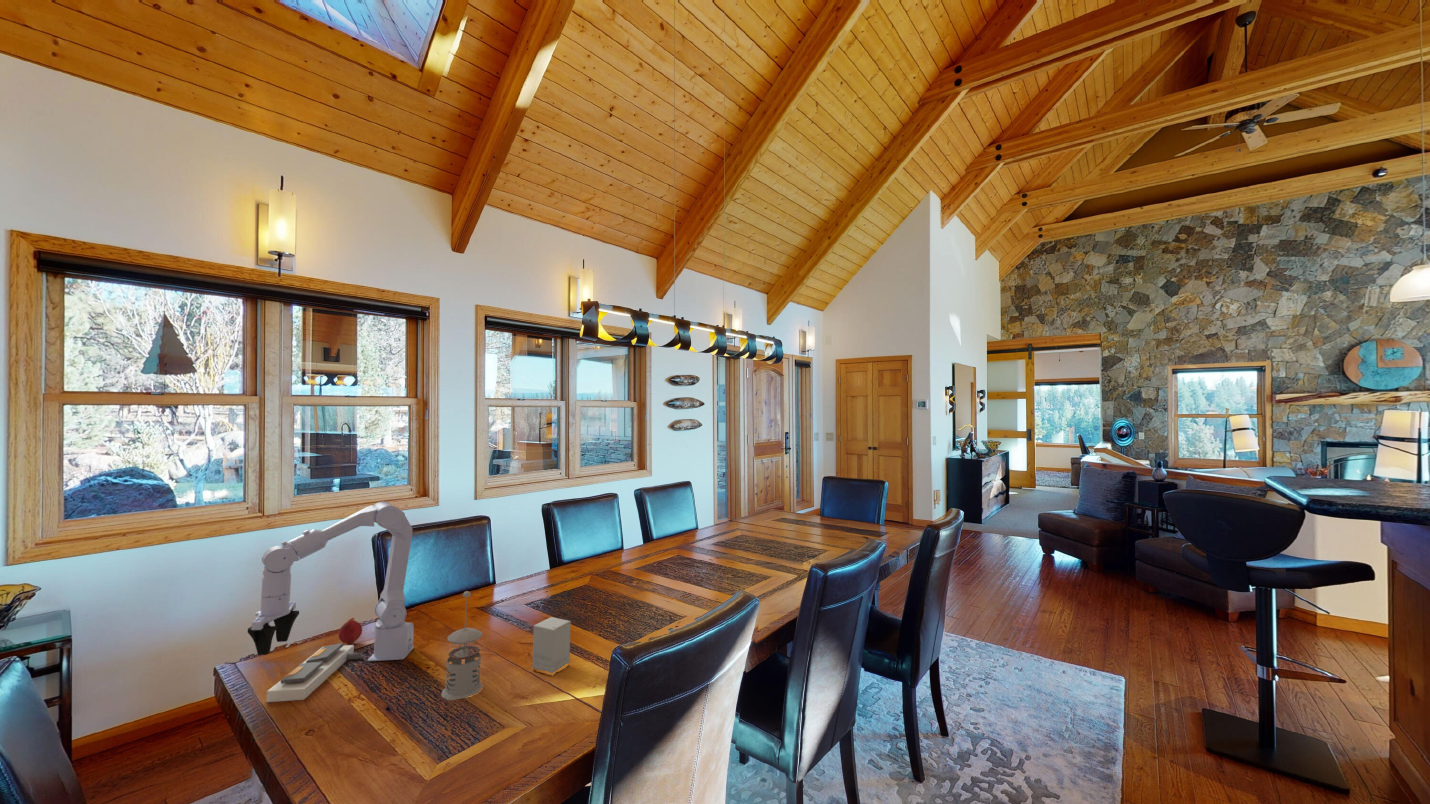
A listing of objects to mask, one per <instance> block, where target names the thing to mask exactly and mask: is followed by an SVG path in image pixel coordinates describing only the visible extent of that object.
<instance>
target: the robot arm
mask: <svg viewBox="0 0 1430 804" xmlns="http://www.w3.org/2000/svg"><path fill="white" fill-rule="evenodd" d="M375 523H376V524H377V525H378V526H379V527H380V528H383V529H384V530H387V531H388V532H389V533H390V534H391V536H392V537H391V542H390V547H389V555H388V560H387V561H388V562H387V567H386V573H385V580H384V586H383V590H381V592H380V596H379V597H380V598H379V600H378V602H376V604H375V606H374V614H375V616H376V617H377V618H378V619H377V621H376V622H375V625H374V626H375V627H374V643H373V644H374V645H373V646H374V648H373V653H372V655H371V656H370V657H369V658H367V662H377V661H379V662H380V661H394V660H404V659H406V657H407V656H408V655H410V653H411V651H412V650H413V649H414V648H415V647H414V633H415V632H414V631H415V627H414V623H413V622H407V621H405V620H406V617H407V609H406V606H405V602H406V597H405V593H404V592H405V591H404V589H405V584H406V582H405V581H406V577H407V572H408V571H407V570H408V564H409V563H408V562H409V557H410V552H411V551H410V550H411V543H412V537H413V527H412V525H411V523H410V522H409V520H408V517H406V514H405V512H404V511H403V510H401V509H400V508H399V507H397V506H395V505H393V504H391V503H390V502H388V501H379V502H376V503H374V504H373V505H368V506H367V507H364V508H363V509H360V510H357V512H354V513H352V514H350V515H349V516H346V517H345V518H343V519H341V520H339V521H337V522H335V523H333V524H332V525H330V526H328V527H326V528H323V529H315V528H313V529H311V530H309V529H306V530H304V531H302V534H301V535H298V536H297V537H295V538H292V539H290V540H288V541H287V540H283V541H282V542H281V543H280V544H281V545H275V546H271V547H269V548H268V549H267V550H266V551H265V552H264V553H263V556H262V557H261V562H262V563H263V566H264V568H263V570H262V571H263V572H262V580H261V594H260V595H261V598H260V599H261V601H260V610H258V611H257V612H255V615H254V616H256V618H255V620H253V621H252V622H251V626H250V627H248V628H247V633H248V635H249V636H250V637H251V638H252V641H253V643H254V645H255V649H256V653H257V655H258V656H263V655H264V656H266V655H269V654H270V652H271V649H272V642H273V638H274V635H275V639H276V642H277V643H283V642H285V643H286V642H287V641H289V638H290V635H291V631H292V628H293V627H294V623H295V621H296V619H297V617H298V616H299V615H300V611H299V610H295V609H296V608H297V606H296V605H297V601H296V600H295V601H291V585H292V584H291V583H292V574H291V568H292V565H293V564H294V562H299V561H300V560H302V559H304V558H307V557H308V556H310V555H312V554H314V553H316V552H319V551H320V550H322V549H324V548H325V547H326V545H327V544H328V542H329V541H330V540H332V539H333V540H334V539H335V538H337V537H339V536H341V535H344V534H346V533H348V532H352V531H353V530H355V529H356V528H360V527H375ZM271 622H273V623H274V625H271V624H270V623H271Z"/></svg>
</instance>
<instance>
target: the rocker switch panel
mask: <svg viewBox="0 0 1430 804" xmlns="http://www.w3.org/2000/svg"><path fill="white" fill-rule="evenodd" d="M323 647H324V646H322V647H321V648H319V649H318V650H317V651H315V652H314V653H313V654H312V655H310V656H309V657H307V659H306V660H304V661H303V662H302V663H306V661H307V660H308V659H309V658H311V657H312V656H313V655H314V654H315V653H317V652H318V651H319V650H320V649H322V648H323ZM354 648H355V645H354V644H351V645H348V644H344V646H343V647H342V648H340V649H339V650H338V651H337V652H336V653H335V654H333V655H332V656H331V657H330V658H329V659H328V660H324V661H323V665H322V666H321V667H320V668H318V669H317V670H316V671H315V672H314V673H313V674H311V675H310V676H309V677H308V678H307V679H306V680H304V681H300V682H291V683H283V684H281V680H280V681H278V682H276V684H274V685H273V686H271V688H269V689H268V690H267V691H266V702H265V703H275V702H277V703H278V702H289V701H304V700H305V699H306V698H308V696H310V695H311V694H312V693H313V692H314V691H315V690H316V689H318V687H320V686H321V685H322V684H323V683H324V682H325V681H326V680H327V679H329V677H331V675H332V674H334V673H335V672H336V671H337V670H339V668H341V666H342V665H344V663H346V662H347V661H352V660H361V659H362V658H363V652H354V651H355V650H354ZM319 662H321V661H319Z"/></svg>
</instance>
